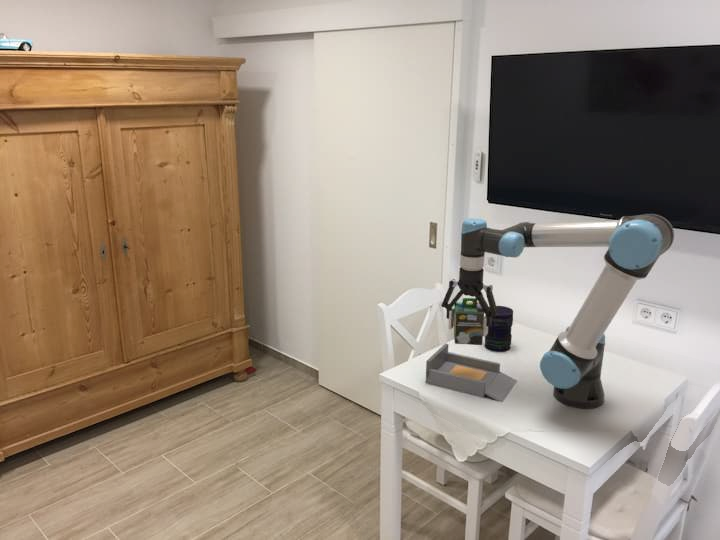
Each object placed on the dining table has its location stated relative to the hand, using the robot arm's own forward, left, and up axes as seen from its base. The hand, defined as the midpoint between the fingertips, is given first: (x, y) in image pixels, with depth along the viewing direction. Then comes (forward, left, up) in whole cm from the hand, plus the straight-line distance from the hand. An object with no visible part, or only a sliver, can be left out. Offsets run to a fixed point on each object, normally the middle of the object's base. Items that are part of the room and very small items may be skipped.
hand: (467, 331), depth 194 cm
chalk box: (0, 0, -3) cm, 3 cm away
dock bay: (-2, 0, -18) cm, 18 cm away
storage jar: (-1, -32, -18) cm, 37 cm away
